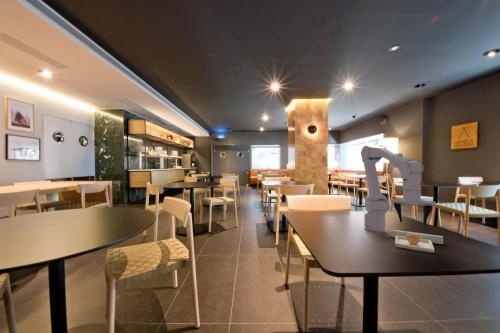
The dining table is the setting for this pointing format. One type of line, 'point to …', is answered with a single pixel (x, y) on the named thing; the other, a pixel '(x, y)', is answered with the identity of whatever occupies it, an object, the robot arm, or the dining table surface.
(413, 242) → the ball
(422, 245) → the tray
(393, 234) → the low wall
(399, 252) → the dining table surface
